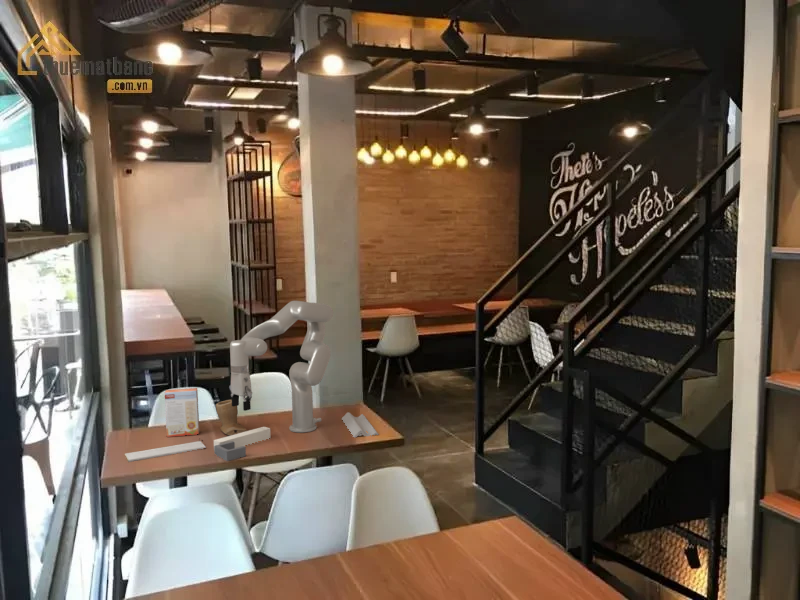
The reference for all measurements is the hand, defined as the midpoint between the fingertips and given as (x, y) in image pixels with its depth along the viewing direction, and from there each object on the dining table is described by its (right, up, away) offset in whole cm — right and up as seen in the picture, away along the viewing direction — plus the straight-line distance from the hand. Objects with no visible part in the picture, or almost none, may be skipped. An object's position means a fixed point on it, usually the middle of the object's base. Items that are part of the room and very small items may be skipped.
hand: (241, 407), depth 285 cm
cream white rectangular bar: (0, -17, +2) cm, 17 cm away
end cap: (-1, -18, -12) cm, 22 cm away
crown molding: (+49, -14, +27) cm, 58 cm away
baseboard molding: (-31, -18, -6) cm, 36 cm away
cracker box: (-31, -15, +17) cm, 38 cm away
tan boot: (-9, -15, +19) cm, 26 cm away
